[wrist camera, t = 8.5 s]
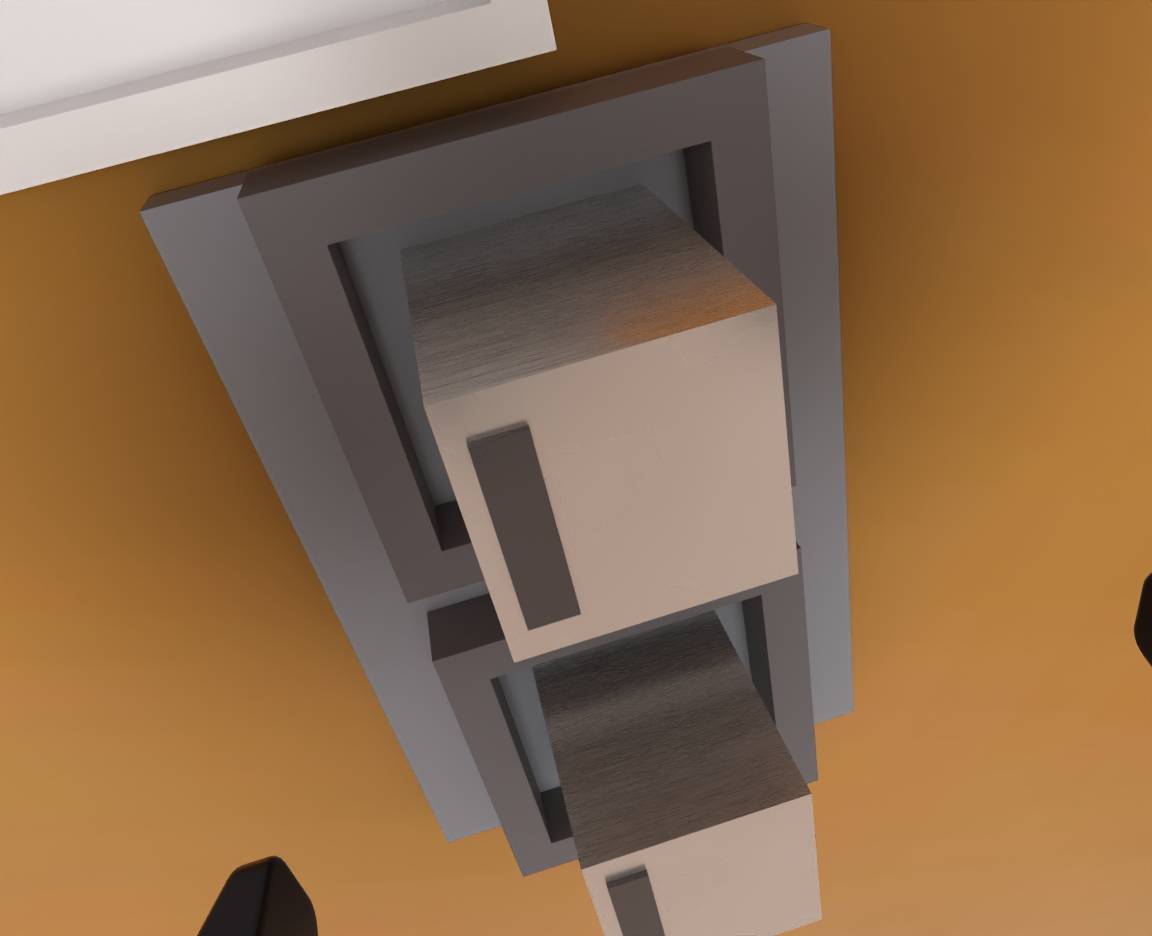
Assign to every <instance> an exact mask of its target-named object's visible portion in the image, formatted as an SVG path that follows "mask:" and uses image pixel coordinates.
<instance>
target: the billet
mask: <svg viewBox="0 0 1152 936" xmlns="http://www.w3.org/2000/svg"><path fill="white" fill-rule="evenodd" d="M532 670H533V674H534V678H535V682H536V686H537V690H538V694H539V698H540V702H541V706H542V711H543V715H544V719H545V723H546V727H547V731H548V735H549V739H550V743H551V747H552V751H553V756H554V760H555V764H556V768H557V772H558V776H559V780H560V784H561V788H562V792H563V796H564V801H565V805H566V809H567V813H568V817H569V821H570V825H571V829H572V833H573V837H574V841H575V845H576V850H577V854H578V858H579V862H580V866H581V870H582V873H583V876H584V878H585V881H586V884H587V887H588V890H589V893H590V895H591V898H592V901H593V904H594V907H595V910H596V913H597V915H598V918H599V921H600V924H601V927H602V930H603V932H604V935H605V936H774V935H777V934H780V933H783V932H786V931H789V930H792V929H795V928H798V927H801V926H804V925H807V924H810V923H812V922H815V921H818V920H821V919H822V916H821V904H820V891H819V879H818V867H817V855H816V842H815V830H814V818H813V806H812V794H811V792H810V790H809V788H808V786H807V784H806V782H805V781H804V779H803V777H802V775H801V773H800V771H799V769H798V767H797V765H796V764H795V762H794V760H793V758H792V756H791V754H790V752H789V750H788V748H787V746H786V745H785V743H784V741H783V739H782V737H781V735H780V733H779V731H778V729H777V728H776V726H775V724H774V722H773V720H772V718H771V716H770V714H769V712H768V711H767V709H766V707H765V705H764V703H763V701H762V699H761V697H760V695H759V694H758V692H757V690H756V688H755V686H754V684H753V682H752V680H751V678H750V676H749V675H748V673H747V671H746V669H745V667H744V665H743V663H742V661H741V659H740V658H739V656H738V654H737V652H736V650H735V648H734V646H733V644H732V642H731V641H730V639H729V637H728V635H727V633H726V631H725V629H724V627H723V625H722V623H721V622H720V620H719V618H718V616H717V614H716V612H715V610H711V611H708V612H704V613H701V614H698V615H695V616H692V617H688V618H685V619H682V620H679V621H675V622H672V623H669V624H666V625H663V626H659V627H656V628H653V629H650V630H647V631H643V632H640V633H637V634H634V635H631V636H627V637H624V638H621V639H618V640H614V641H611V642H608V643H605V644H602V645H598V646H595V647H592V648H589V649H586V650H582V651H579V652H576V653H573V654H570V655H566V656H563V657H560V658H557V659H553V660H550V661H547V662H544V663H541V664H537V665H534V666H532Z"/></svg>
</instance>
